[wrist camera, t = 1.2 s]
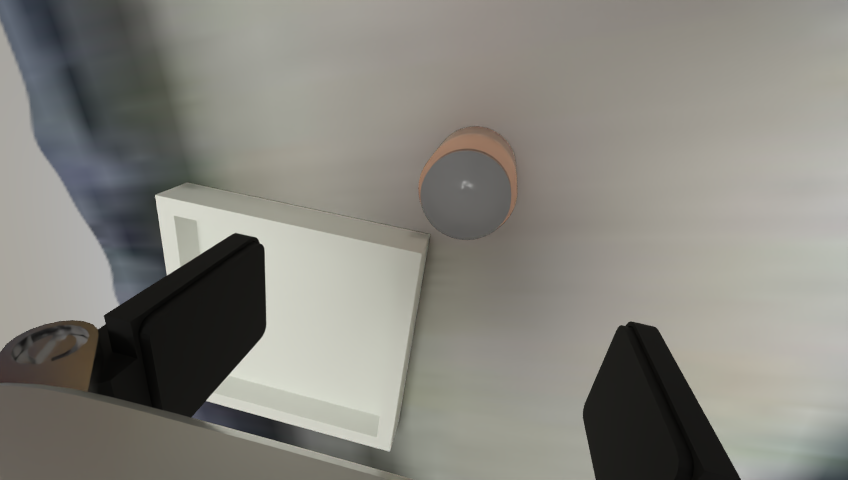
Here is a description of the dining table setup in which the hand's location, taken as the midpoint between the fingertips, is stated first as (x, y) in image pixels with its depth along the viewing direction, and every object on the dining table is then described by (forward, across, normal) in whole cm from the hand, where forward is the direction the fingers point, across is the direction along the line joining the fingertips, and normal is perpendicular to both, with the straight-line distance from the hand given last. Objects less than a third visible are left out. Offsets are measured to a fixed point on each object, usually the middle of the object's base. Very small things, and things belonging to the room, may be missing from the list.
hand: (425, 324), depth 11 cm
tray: (+16, +11, +14) cm, 24 cm away
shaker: (+16, 0, 0) cm, 16 cm away
